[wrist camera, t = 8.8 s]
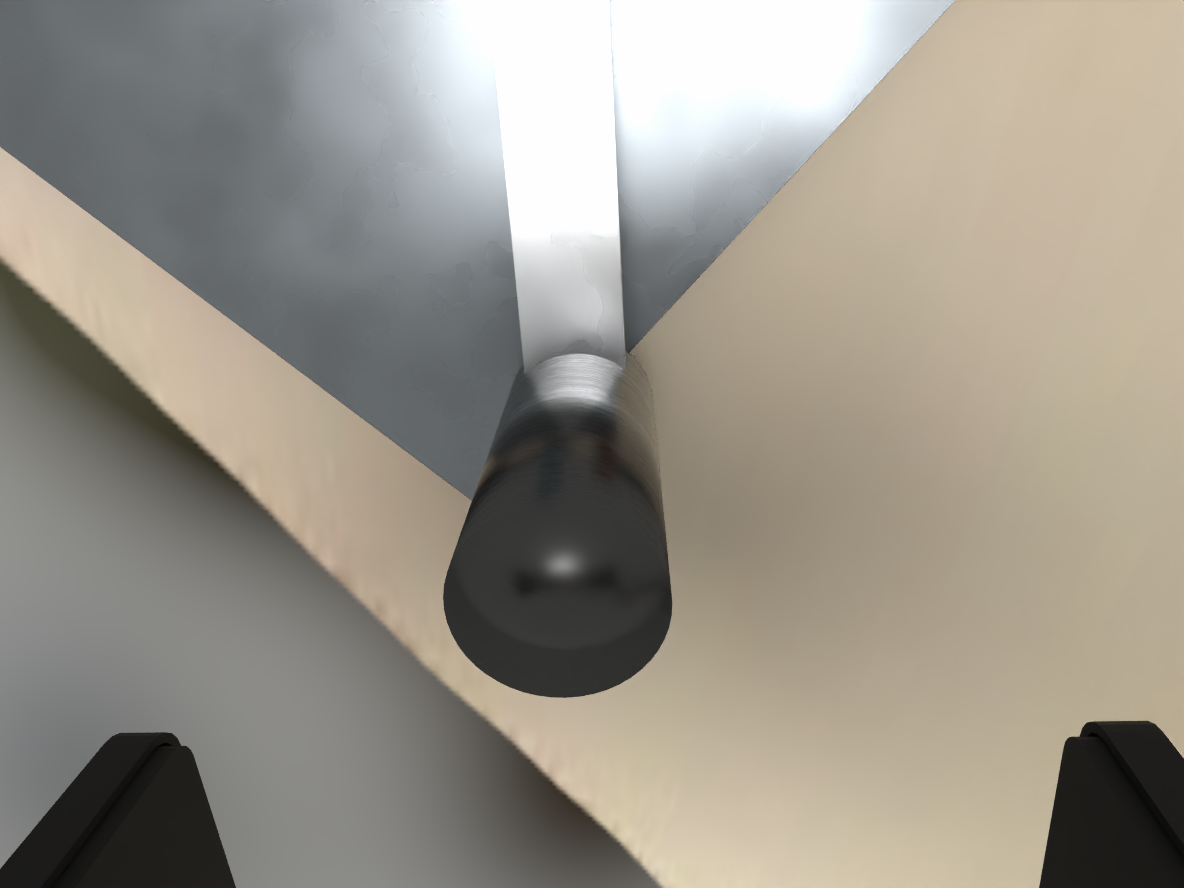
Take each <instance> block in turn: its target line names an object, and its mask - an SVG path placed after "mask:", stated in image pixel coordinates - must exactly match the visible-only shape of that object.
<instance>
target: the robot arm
mask: <svg viewBox="0 0 1184 888" xmlns="http://www.w3.org/2000/svg"><path fill="white" fill-rule="evenodd" d="M0 888H236V887H235V883H234V880H233V877H232V874H231V871H230V868H229V865H228V862H227V859H226V855H225V852H224V849H223V846H222V843H221V840H220V837H219V834H218V830H217V828H216V824H215V821H214V818H213V815H212V812H211V809H210V806H209V802H208V799H207V796H206V793H205V790H204V787H203V784H202V780H201V777H200V774H199V771H198V768H197V765H196V762H195V759H194V755H193V753H192V752H191V750H190V749H189V748H188V747H187V746H181V745H180V743H179V741H178V739H177V737H175V736H174V735H173V734H172V733H165V732H164V733H119V734H116V735H114V736H112V737H111V738H110V739H109V740H108V741H107V742H106V743H105V744H104V745H103V746H102V747H101V748H100V750H99V751H98V752H97V753H96V754H95V756H94V757H93V758H92V759H91V760H90V762H89V763H88V764H87V765H86V766H85V768H84V769H83V770H82V771H81V772H80V774H79V775H78V776H77V777H76V779H75V780H74V781H73V782H72V783H71V784H70V786H69V787H68V788H67V789H66V790H65V792H64V793H63V794H62V795H61V797H60V798H59V799H58V800H57V801H56V803H55V804H54V805H53V806H52V807H51V809H50V810H49V811H48V812H47V813H46V815H45V816H44V817H43V818H42V819H41V821H40V822H39V823H38V824H37V825H36V827H35V828H34V829H33V830H32V832H31V833H30V834H29V835H28V836H27V837H26V839H25V840H24V841H23V842H22V843H21V845H20V846H19V847H18V848H17V849H16V851H15V852H14V853H13V854H12V855H11V857H10V858H9V859H8V860H7V861H6V863H5V864H4V865H3V866H2V868H1V869H0ZM1039 888H1184V758H1183V757H1182V756H1181V755H1180V753H1179V752H1178V751H1177V749H1176V748H1175V747H1174V746H1173V744H1172V743H1171V742H1170V740H1169V739H1168V738H1167V737H1166V735H1165V734H1164V733H1163V732H1162V731H1161V730H1160V729H1159V728H1158V727H1157V726H1156V725H1155V724H1153V723H1151V722H1149V721H1101V722H1088V723H1086V724H1085V725H1084V727H1083V728H1082V731H1081V734H1080V737H1069V738H1068V739H1067V740H1066V742H1065V745H1064V749H1063V755H1062V760H1061V766H1060V772H1059V777H1058V783H1057V789H1056V795H1055V800H1054V806H1053V812H1052V818H1051V823H1050V829H1049V835H1048V840H1047V846H1046V852H1045V858H1044V863H1043V869H1042V875H1041V881H1040V886H1039Z"/></svg>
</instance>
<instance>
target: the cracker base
mask: <svg viewBox="0 0 1184 888" xmlns="http://www.w3.org/2000/svg"><path fill="white" fill-rule="evenodd" d="M954 1H955V0H609V6H610V28H611V50H612V72H613V93H614V115H615V137H616V159H617V180H618V202H619V224H620V246H621V268H622V289H623V311H624V333H625V350H626V351H627V352H628V353H629V352H630V351H631V350H632V349H633V348H634V347H635V346H636V344H637V343H638V342H639V341H640V340H641V339H642V338H643V337H644V336H645V335H646V334H647V333H648V331H649V330H650V329H651V328H652V327H653V326H654V325H655V324H656V323H657V322H658V321H659V320H660V318H661V317H662V316H663V315H664V314H665V313H666V312H667V311H668V310H669V309H670V308H671V307H672V306H673V304H674V303H675V302H676V301H677V300H678V299H679V298H680V297H681V296H682V295H683V294H684V293H685V291H686V290H687V289H688V288H689V287H690V286H691V285H692V284H693V283H694V282H695V281H696V280H697V279H698V277H699V276H700V275H701V274H702V273H703V272H704V271H705V270H706V269H707V268H708V267H709V266H710V264H711V263H712V262H713V261H714V260H715V259H716V258H717V257H718V256H719V255H720V254H721V253H722V251H723V250H724V249H725V248H726V247H727V246H728V245H729V244H730V243H731V242H732V241H733V240H734V239H735V237H736V236H737V235H738V234H739V233H740V232H741V231H742V230H743V229H744V228H745V227H746V226H747V224H748V223H749V222H750V221H751V220H752V219H753V218H754V217H755V216H756V215H757V214H758V213H759V211H760V210H761V209H762V208H763V207H764V206H765V205H766V204H767V203H768V202H769V201H770V200H771V199H772V197H773V196H774V195H775V194H776V193H777V192H778V191H779V190H780V189H781V188H782V187H783V186H784V184H785V183H786V182H787V181H788V180H789V179H790V178H791V177H792V176H793V175H794V174H795V173H796V172H797V170H798V169H799V168H800V167H801V166H802V165H803V164H804V163H805V162H806V161H807V160H808V159H809V157H810V156H811V155H812V154H813V153H814V152H815V151H816V150H817V149H818V148H819V147H820V146H821V144H822V143H823V142H824V141H825V140H826V139H827V138H828V137H829V136H830V135H831V134H832V133H833V132H834V130H835V129H836V128H837V127H838V126H839V125H840V124H841V123H842V122H843V121H844V120H845V119H846V117H847V116H848V115H849V114H850V113H851V112H852V111H853V110H854V109H855V108H856V107H857V106H858V105H859V103H860V102H861V101H862V100H863V99H864V98H865V97H866V96H867V95H868V94H869V93H870V92H871V90H872V89H873V88H874V87H875V86H876V85H877V84H878V83H879V82H880V81H881V80H882V79H883V77H884V76H885V75H886V74H887V73H888V72H889V71H890V70H891V69H892V68H893V67H894V66H895V65H896V63H897V62H898V61H899V60H900V59H901V58H902V57H903V56H904V55H905V54H906V53H907V52H908V50H909V49H910V48H911V47H912V46H913V45H914V44H915V43H916V42H917V41H918V40H919V39H920V38H921V36H922V35H923V34H924V33H925V32H926V31H927V30H928V29H929V28H930V27H931V26H932V25H933V23H934V22H935V21H936V20H937V19H938V18H939V17H940V16H941V15H942V14H943V13H944V12H945V10H946V9H947V8H948V7H949V6H950V5H951V4H952V3H953V2H954ZM0 147H1V148H3V149H4V150H5V151H7V152H8V153H9V154H11V155H12V156H13V157H15V158H16V159H17V160H19V161H20V162H21V163H23V164H24V165H25V166H27V167H28V168H29V169H31V170H32V171H33V172H35V173H36V174H37V175H39V176H40V177H41V178H43V179H44V180H45V181H47V182H48V183H49V184H51V185H52V186H53V187H55V188H56V189H57V190H59V191H60V192H61V193H63V194H64V195H65V196H67V197H68V198H69V199H71V200H72V201H73V202H75V203H76V204H77V205H79V206H80V207H81V208H83V209H84V210H85V211H87V212H88V213H89V214H91V215H92V216H93V217H95V218H96V219H97V220H99V221H100V222H101V223H103V224H104V225H105V226H107V227H108V228H109V229H111V230H112V231H113V232H115V233H116V234H117V235H119V236H120V237H121V238H123V239H124V240H125V241H127V242H128V243H129V244H131V245H132V246H133V247H135V248H136V249H137V250H139V251H140V252H141V253H143V254H144V255H145V256H147V257H148V258H149V259H151V260H152V261H153V262H155V263H156V264H157V265H159V266H160V267H161V268H163V269H164V270H165V271H167V272H168V273H169V274H171V275H172V276H173V277H175V278H176V279H177V280H179V281H180V282H181V283H183V284H184V285H185V286H187V287H188V288H189V289H191V290H192V291H193V292H195V293H196V294H197V295H199V296H200V297H201V298H203V299H204V300H205V301H207V302H208V303H209V304H211V305H212V306H213V307H215V308H216V309H217V310H219V311H220V312H221V313H223V314H224V315H225V316H227V317H228V318H229V319H231V320H232V321H233V322H235V323H236V324H237V325H239V326H240V327H241V328H243V329H244V330H245V331H247V332H248V333H249V334H251V335H252V336H253V337H255V338H256V339H257V340H259V341H260V342H261V343H263V344H264V345H265V346H267V347H268V348H269V349H271V350H272V351H273V352H275V353H276V354H277V355H279V356H280V357H281V358H283V359H284V360H285V361H287V362H288V363H289V364H291V365H292V366H293V367H295V368H296V369H297V370H299V371H300V372H301V373H303V374H304V375H305V376H307V377H308V378H309V379H311V380H312V381H313V382H315V383H316V384H317V385H319V386H320V387H321V388H323V389H324V390H325V391H327V392H328V393H329V394H331V395H332V396H333V397H335V398H336V399H337V400H339V401H340V402H341V403H343V404H344V405H345V406H347V407H348V408H349V409H351V410H352V411H353V412H355V413H356V414H357V415H359V416H360V417H361V418H363V419H364V420H365V421H367V422H368V423H369V424H371V425H372V426H373V427H375V428H376V429H377V430H379V431H380V432H381V433H383V434H384V435H385V436H387V437H388V438H389V439H391V440H392V441H393V442H395V443H396V444H397V445H399V446H400V447H401V448H403V449H404V450H405V451H407V452H408V453H409V454H411V455H412V456H413V457H415V458H416V459H417V460H419V461H420V462H421V463H423V464H424V465H425V466H427V467H428V468H429V469H431V470H432V471H433V472H435V473H436V474H437V475H439V476H440V477H441V478H443V479H444V480H445V481H447V482H448V483H449V484H451V485H452V486H453V487H455V488H456V489H457V490H459V491H460V492H461V493H463V494H464V495H465V496H467V497H468V498H469V499H471V500H473V497H474V494H475V491H476V488H477V485H478V482H479V479H480V477H481V474H482V471H483V468H484V465H485V462H486V459H487V456H488V453H489V451H490V448H491V445H492V442H493V439H494V436H495V433H496V430H497V428H498V425H499V422H500V419H501V416H502V413H503V410H504V407H505V404H506V402H507V399H508V396H509V393H510V390H511V387H512V384H513V381H514V379H515V377H516V374H517V372H518V370H519V369H520V367H521V365H522V364H523V363H524V362H523V352H522V341H521V331H520V321H519V310H518V300H517V289H516V279H515V268H514V258H513V247H512V237H511V226H510V216H509V205H508V195H507V184H506V174H505V163H504V153H503V142H502V132H501V121H500V111H499V100H498V90H497V80H496V69H495V59H494V48H493V38H492V27H491V17H490V6H489V0H0Z"/></svg>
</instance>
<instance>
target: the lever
mask: <svg viewBox="0 0 1184 888" xmlns="http://www.w3.org/2000/svg"><path fill="white" fill-rule="evenodd" d="M489 6H490V17H491V27H492V38H493V48H494V59H495V69H496V80H497V90H498V100H499V111H500V121H501V132H502V142H503V153H504V163H505V174H506V184H507V195H508V205H509V216H510V226H511V237H512V247H513V258H514V268H515V279H516V289H517V300H518V310H519V321H520V331H521V341H522V352H523V362H524V363H523V364H522V365H521V367H520V369H519V370H518V372H517V374H516V377H515V379H514V381H513V384H512V387H511V390H510V393H509V396H508V399H507V402H506V404H505V407H504V410H503V413H502V416H501V419H500V422H499V425H498V428H497V430H496V433H495V436H494V439H493V442H492V445H491V448H490V451H489V453H488V456H487V459H486V462H485V465H484V468H483V471H482V474H481V477H480V479H479V482H478V485H477V488H476V491H475V494H474V497H473V500H472V502H471V505H470V508H469V511H468V514H467V517H466V520H465V523H464V526H463V528H462V531H461V534H460V537H459V540H458V543H457V546H456V549H455V551H454V554H453V557H452V560H451V563H450V566H449V569H448V572H447V576H446V580H445V584H444V595H443V600H444V611H445V615H446V620H447V623H448V626H449V628H450V631H451V633H452V635H453V637H454V639H455V641H456V642H457V644H458V646H459V647H460V649H461V650H462V651H463V652H464V654H465V655H466V656H467V657H468V658H469V659H470V660H471V661H472V662H473V663H474V665H475V666H477V667H478V668H479V669H480V670H482V671H483V672H484V673H485V674H487V675H488V676H490V677H492V678H493V679H495V680H496V681H498V682H500V683H502V684H504V685H506V686H509V687H511V688H514V689H516V690H519V691H522V692H525V693H530V694H534V695H539V696H546V697H564V698H566V697H579V696H585V695H590V694H595V693H598V692H601V691H604V690H607V689H610V688H612V687H614V686H617V685H619V684H621V683H622V682H624V681H626V680H628V679H629V678H631V677H632V676H634V675H635V674H636V673H637V672H639V671H640V670H641V669H642V668H643V667H644V666H645V665H646V664H647V663H648V662H649V661H650V660H651V659H652V658H653V657H654V655H655V654H656V653H657V651H658V650H659V648H660V646H661V644H662V643H663V641H664V639H665V636H666V634H667V631H668V628H669V625H670V620H671V615H672V596H671V585H670V575H669V564H668V554H667V543H666V533H665V522H664V512H663V501H662V491H661V480H660V470H659V459H658V449H657V438H656V428H655V417H654V407H653V397H652V390H651V386H650V383H649V380H648V378H647V375H646V374H645V372H644V370H643V368H642V367H641V366H640V364H639V363H638V362H637V360H636V359H635V358H634V357H633V356H632V355H631V354H630V353H628V352H627V351H626V350H625V333H624V311H623V289H622V268H621V246H620V224H619V202H618V180H617V159H616V137H615V115H614V93H613V72H612V50H611V28H610V6H609V0H489Z"/></svg>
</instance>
